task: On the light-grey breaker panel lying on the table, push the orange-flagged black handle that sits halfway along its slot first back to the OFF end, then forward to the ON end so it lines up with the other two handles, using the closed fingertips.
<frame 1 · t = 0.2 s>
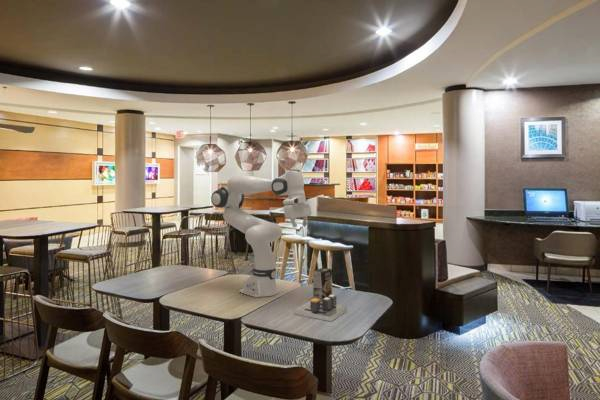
hand: (299, 226, 199), 39 cm above the table, tool pointing down, fingers open, 8 cm apart
breaker a: (331, 300, 183), point 5 cm above the table, slide at 3.5 cm
breaker b: (326, 303, 179), point 5 cm above the table, slide at 3.5 cm
tripped breaker: (315, 305, 177), point 5 cm above the table, slide at 0.0 cm
panel: (320, 312, 181), on the table
coffee box: (322, 300, 200), on the table
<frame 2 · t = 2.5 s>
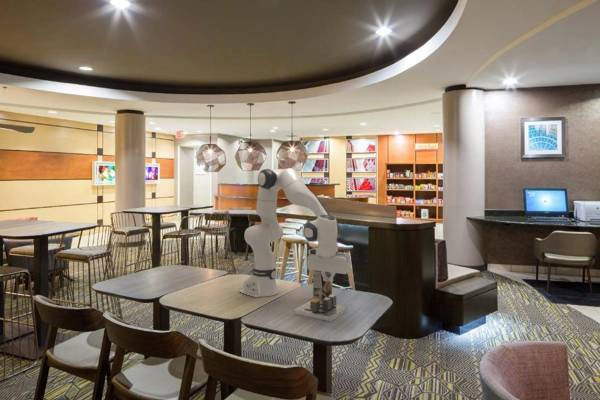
hand: (328, 281, 172), 17 cm above the table, tool pointing down, fingers closed
nothing on the table moved.
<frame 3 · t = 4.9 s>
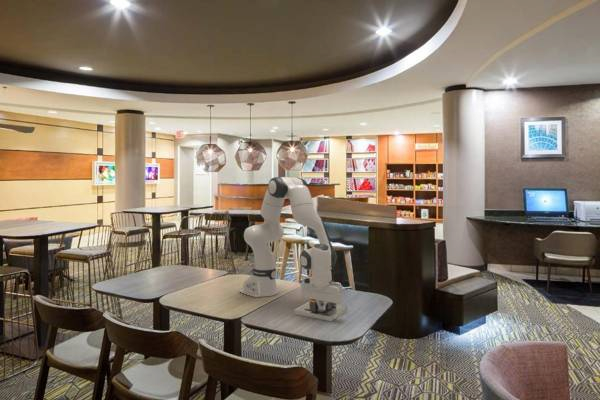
hand: (322, 309, 175), 3 cm above the table, tool pointing down, fingers closed
tripped breaker: (314, 304, 177), point 5 cm above the table, slide at -0.5 cm, touching gripper
everything else where it was.
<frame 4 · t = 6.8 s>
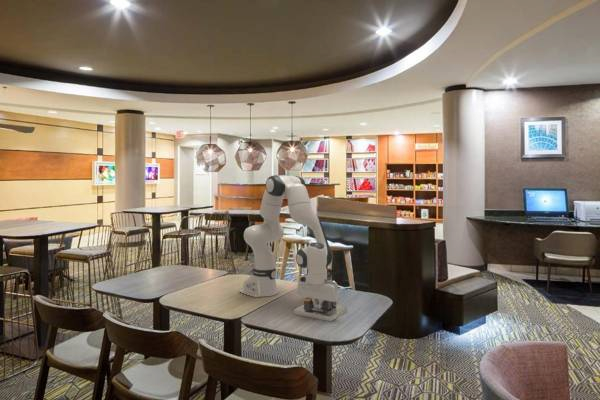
hand: (317, 307, 176), 4 cm above the table, tool pointing down, fingers closed
tripped breaker: (308, 303, 179), point 5 cm above the table, slide at -3.6 cm
everything else where it was.
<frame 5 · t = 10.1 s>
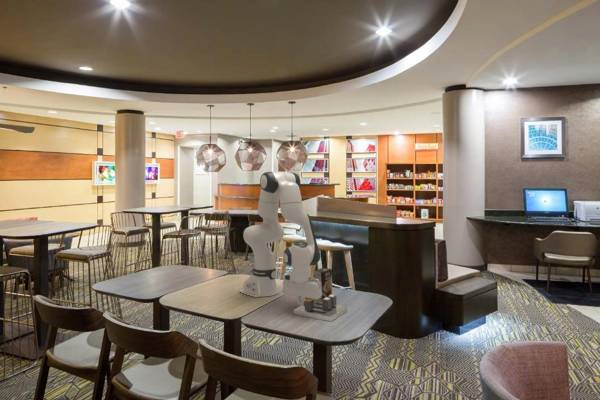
hand: (302, 305, 181), 4 cm above the table, tool pointing down, fingers closed
tripped breaker: (309, 303, 178), point 5 cm above the table, slide at -3.1 cm, touching gripper
everything else where it was.
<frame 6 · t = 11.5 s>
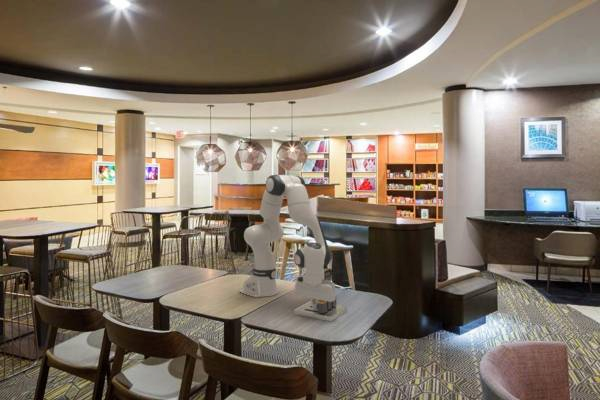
hand: (315, 307, 177), 4 cm above the table, tool pointing down, fingers closed
tripped breaker: (322, 306, 175), point 5 cm above the table, slide at 3.8 cm, touching gripper
everything else where it was.
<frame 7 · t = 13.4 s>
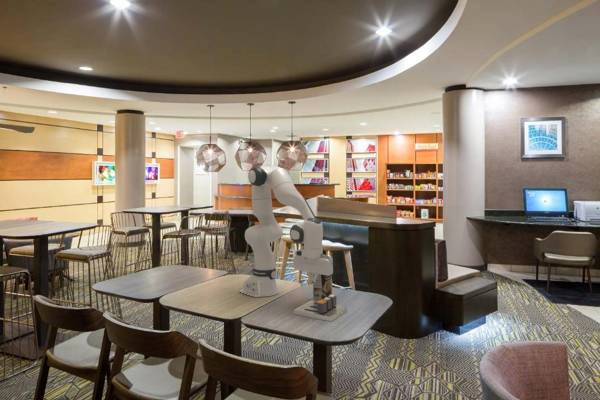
hand: (312, 281, 181), 15 cm above the table, tool pointing down, fingers closed
tripped breaker: (321, 306, 175), point 5 cm above the table, slide at 3.6 cm
everything else where it was.
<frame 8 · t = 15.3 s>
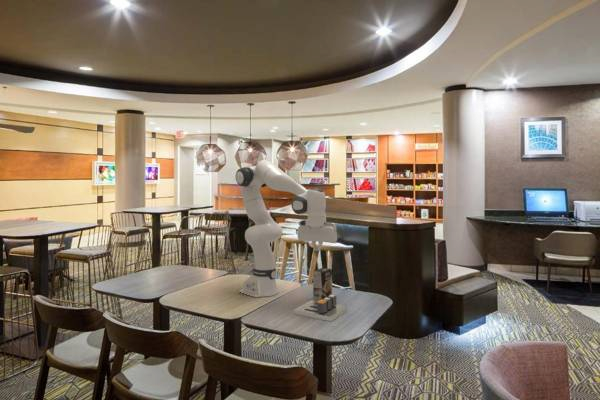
hand: (317, 250, 183), 29 cm above the table, tool pointing down, fingers closed
nothing on the table moved.
at the end: tripped breaker slide at 3.6 cm; breaker b slide at 3.5 cm; breaker a slide at 3.5 cm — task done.
